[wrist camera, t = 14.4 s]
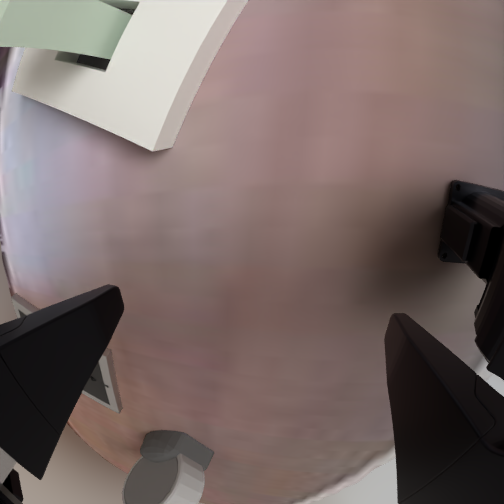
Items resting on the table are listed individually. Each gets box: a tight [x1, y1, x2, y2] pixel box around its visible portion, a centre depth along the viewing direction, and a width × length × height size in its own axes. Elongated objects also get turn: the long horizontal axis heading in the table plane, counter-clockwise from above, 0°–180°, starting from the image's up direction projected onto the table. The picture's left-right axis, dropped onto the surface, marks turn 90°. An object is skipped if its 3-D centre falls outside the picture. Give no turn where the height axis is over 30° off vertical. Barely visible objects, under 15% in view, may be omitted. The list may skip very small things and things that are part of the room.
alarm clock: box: [122, 430, 214, 504], centre depth 32 cm, size 16×10×18 cm, turn 129°
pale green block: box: [0, 0, 132, 60], centre depth 10 cm, size 5×4×13 cm
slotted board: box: [12, 0, 249, 151], centre depth 15 cm, size 20×14×3 cm
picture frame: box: [11, 293, 123, 414], centre depth 35 cm, size 16×3×21 cm
